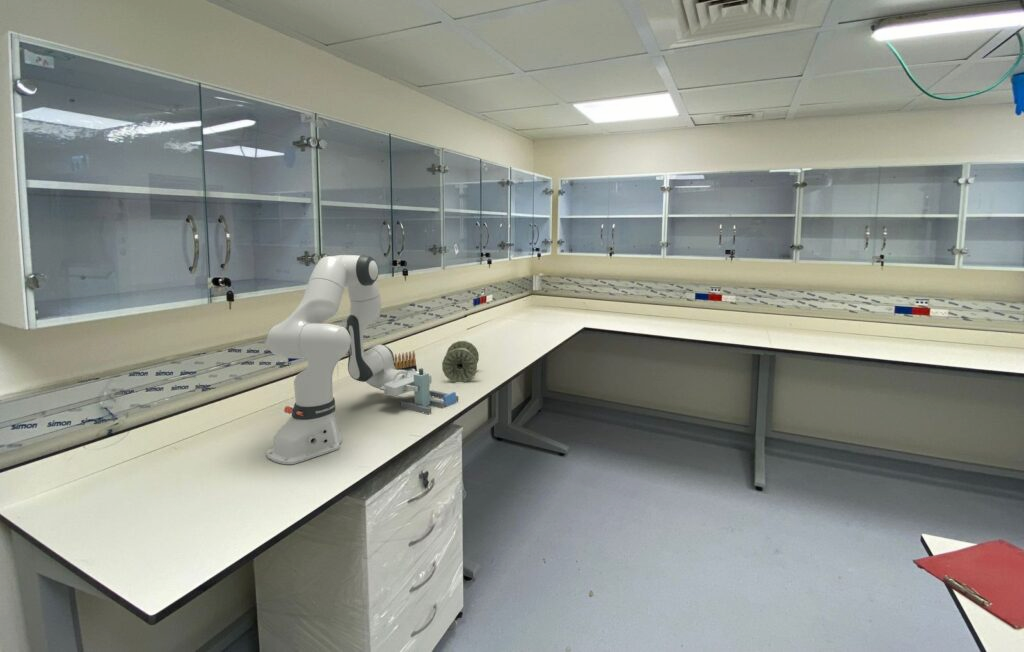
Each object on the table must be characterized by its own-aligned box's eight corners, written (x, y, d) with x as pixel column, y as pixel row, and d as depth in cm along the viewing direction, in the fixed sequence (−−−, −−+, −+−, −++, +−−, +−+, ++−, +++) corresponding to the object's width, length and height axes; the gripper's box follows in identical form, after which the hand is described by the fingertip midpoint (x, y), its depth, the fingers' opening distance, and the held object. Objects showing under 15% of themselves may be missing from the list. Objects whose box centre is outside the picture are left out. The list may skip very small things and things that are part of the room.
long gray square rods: (428, 414, 188) (428, 404, 187) (401, 407, 196) (400, 397, 195) (458, 401, 202) (458, 391, 201) (432, 394, 210) (431, 385, 209)
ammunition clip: (415, 374, 237) (414, 349, 235) (417, 375, 236) (416, 350, 234) (394, 379, 231) (392, 353, 228) (396, 380, 229) (394, 354, 227)
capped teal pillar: (422, 407, 192) (421, 371, 190) (415, 405, 194) (413, 369, 192) (430, 404, 195) (428, 368, 193) (422, 402, 198) (420, 367, 195)
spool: (477, 382, 225) (476, 349, 222) (442, 383, 225) (441, 349, 222) (478, 371, 241) (478, 340, 238) (446, 372, 241) (445, 341, 238)
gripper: (376, 380, 192) (402, 386, 184) (415, 367, 208) (441, 372, 201) (377, 396, 193) (403, 403, 185) (416, 382, 210) (441, 388, 202)
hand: (423, 387), depth 193 cm, fingers closed on capped teal pillar, 4 cm apart
